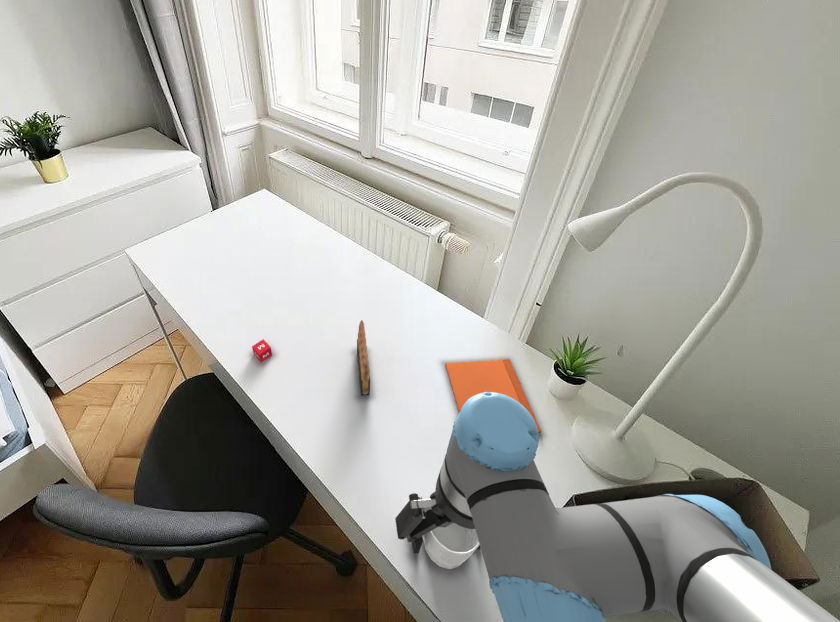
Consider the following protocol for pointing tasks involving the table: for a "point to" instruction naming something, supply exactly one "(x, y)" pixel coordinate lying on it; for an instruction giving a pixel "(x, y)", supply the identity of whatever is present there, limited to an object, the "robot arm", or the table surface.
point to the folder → (486, 381)
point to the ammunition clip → (363, 361)
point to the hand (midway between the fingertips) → (444, 540)
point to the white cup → (450, 545)
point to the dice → (262, 350)
